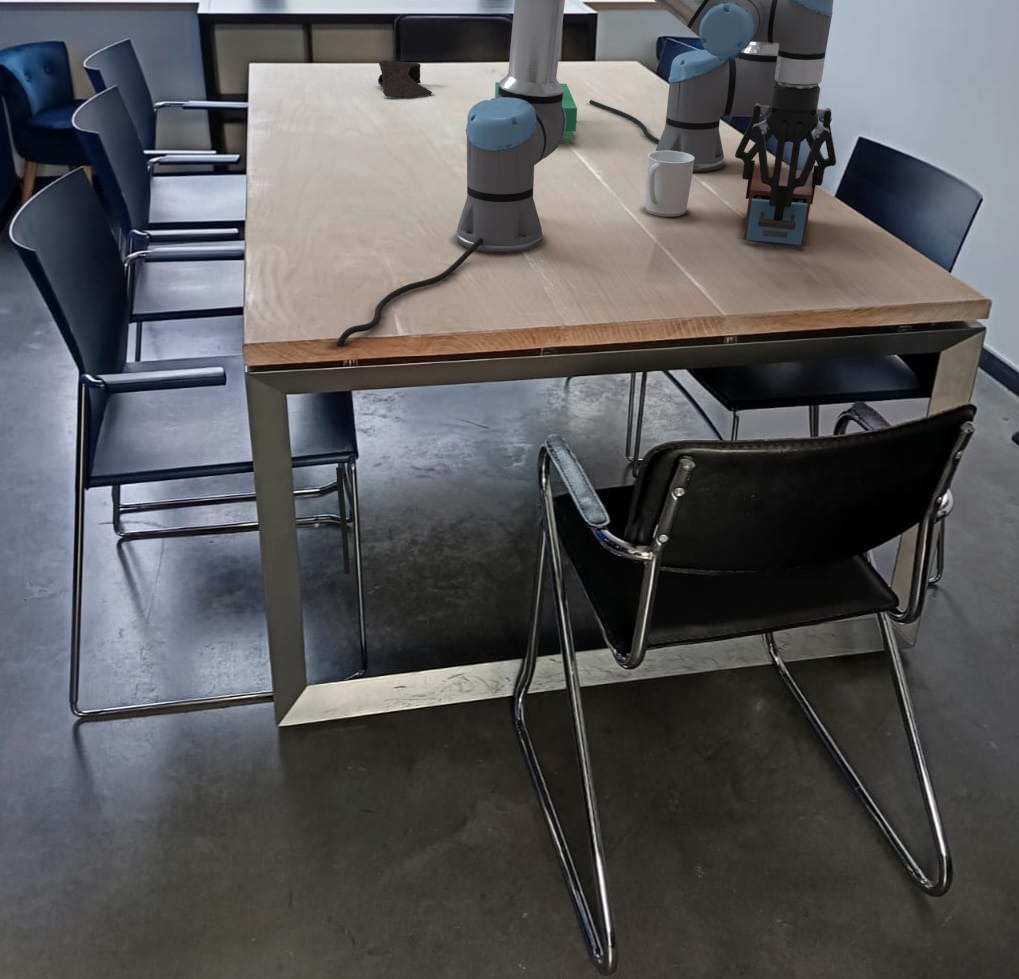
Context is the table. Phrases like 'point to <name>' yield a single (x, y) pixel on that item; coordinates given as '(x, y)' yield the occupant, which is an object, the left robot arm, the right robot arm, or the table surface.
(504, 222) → the left robot arm
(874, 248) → the table surface
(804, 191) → the cabinet
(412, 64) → the axe head
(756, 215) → the drawer
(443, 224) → the table surface
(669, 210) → the mug
